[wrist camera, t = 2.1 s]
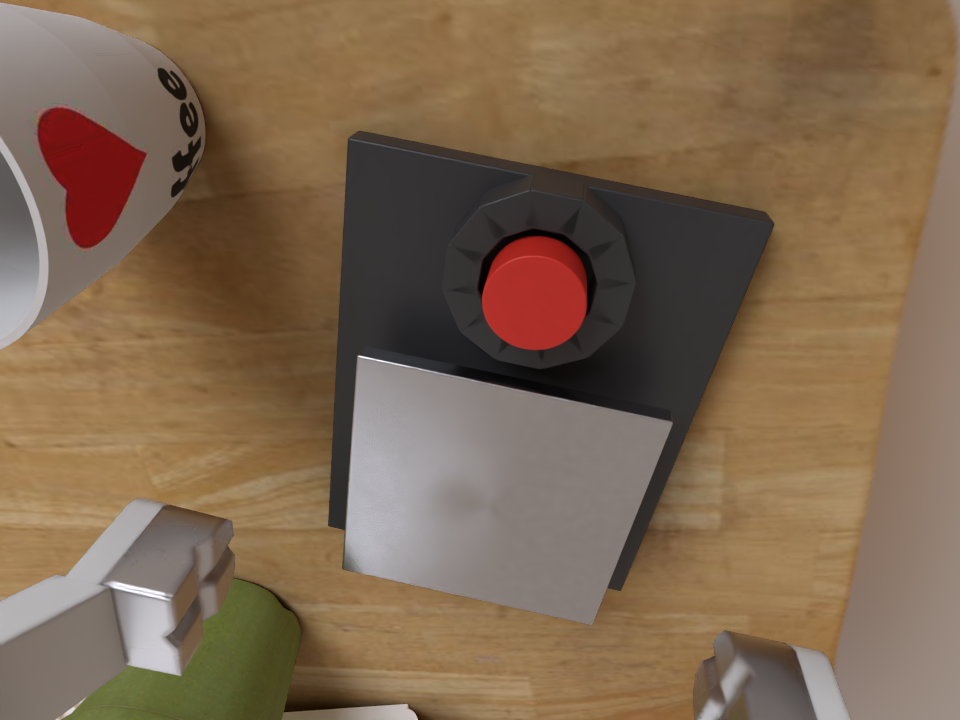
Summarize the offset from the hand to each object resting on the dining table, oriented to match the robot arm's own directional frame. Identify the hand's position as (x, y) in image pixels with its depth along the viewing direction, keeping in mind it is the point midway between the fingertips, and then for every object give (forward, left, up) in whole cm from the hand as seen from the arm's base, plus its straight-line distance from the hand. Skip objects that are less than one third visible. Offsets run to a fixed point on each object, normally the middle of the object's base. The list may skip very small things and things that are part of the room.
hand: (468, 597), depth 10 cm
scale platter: (+9, 0, -12) cm, 15 cm away
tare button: (0, 0, -13) cm, 13 cm away
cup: (-2, -15, -15) cm, 21 cm away
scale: (+6, 0, -15) cm, 16 cm away
